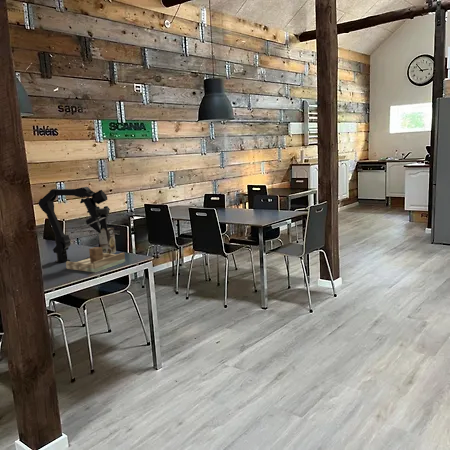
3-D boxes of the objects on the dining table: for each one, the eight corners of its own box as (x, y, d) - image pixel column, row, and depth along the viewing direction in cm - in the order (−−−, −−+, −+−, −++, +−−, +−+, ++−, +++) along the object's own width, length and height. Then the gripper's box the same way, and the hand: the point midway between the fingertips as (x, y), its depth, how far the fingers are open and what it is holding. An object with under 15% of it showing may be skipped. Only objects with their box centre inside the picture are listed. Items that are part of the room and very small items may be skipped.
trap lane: (66, 268, 253) (65, 259, 252) (97, 258, 273) (96, 250, 272) (95, 272, 242) (94, 262, 241) (125, 261, 261) (124, 252, 260)
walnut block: (90, 262, 256) (89, 248, 254) (97, 260, 260) (95, 246, 259) (96, 263, 253) (95, 249, 252) (103, 261, 257) (102, 247, 256)
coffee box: (110, 255, 279) (107, 230, 277) (100, 255, 281) (97, 230, 278) (116, 252, 288) (114, 227, 285) (107, 252, 290) (104, 227, 287)
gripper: (96, 203, 252) (109, 229, 254) (109, 199, 270) (121, 223, 272) (80, 211, 254) (92, 236, 256) (94, 207, 272) (105, 230, 274)
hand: (103, 231), depth 264 cm, fingers open, 9 cm apart
